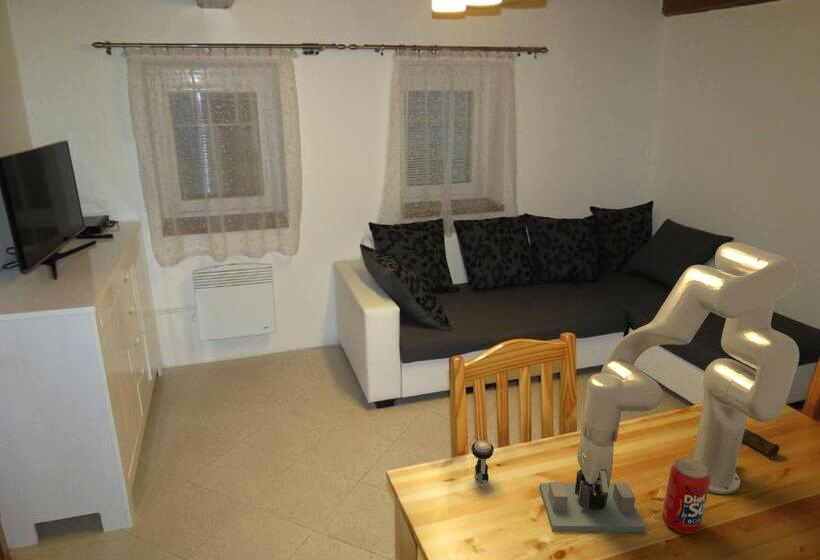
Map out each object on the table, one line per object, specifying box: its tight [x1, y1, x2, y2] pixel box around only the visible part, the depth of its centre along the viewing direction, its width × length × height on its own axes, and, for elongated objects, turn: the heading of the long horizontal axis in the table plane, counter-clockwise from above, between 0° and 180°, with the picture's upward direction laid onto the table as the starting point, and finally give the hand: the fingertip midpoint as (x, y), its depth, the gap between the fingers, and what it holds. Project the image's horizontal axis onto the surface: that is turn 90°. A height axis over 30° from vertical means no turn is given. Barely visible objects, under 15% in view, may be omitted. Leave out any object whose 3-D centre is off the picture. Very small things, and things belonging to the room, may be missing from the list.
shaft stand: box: [539, 481, 646, 533], centre depth 133 cm, size 20×14×8 cm
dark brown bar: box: [742, 428, 780, 459], centre depth 160 cm, size 19×4×5 cm, turn 25°
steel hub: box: [575, 468, 611, 511], centre depth 132 cm, size 7×7×6 cm
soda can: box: [661, 457, 710, 534], centre depth 128 cm, size 8×8×15 cm
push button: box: [471, 439, 495, 489], centre depth 142 cm, size 7×5×10 cm
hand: (591, 495), depth 133 cm, fingers closed on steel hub, 7 cm apart
